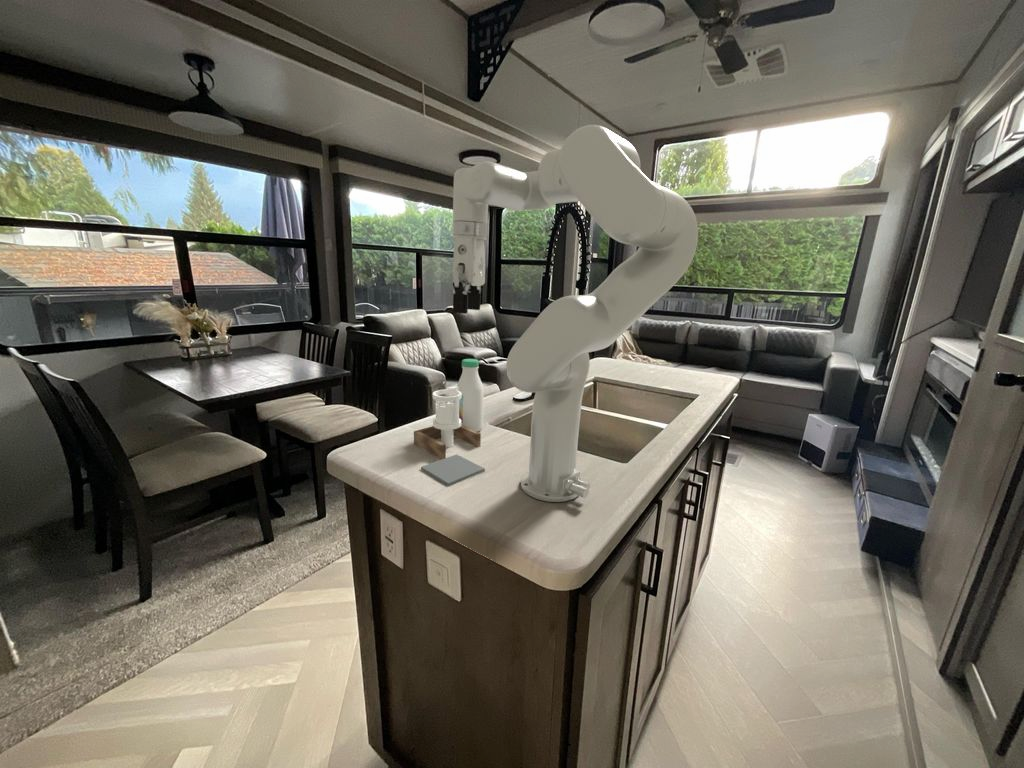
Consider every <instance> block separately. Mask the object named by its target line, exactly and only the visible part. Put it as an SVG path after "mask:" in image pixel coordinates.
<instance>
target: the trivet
mask: <svg viewBox="0 0 1024 768" xmlns="http://www.w3.org/2000/svg"><path fill="white" fill-rule="evenodd" d="M420 470H421V471H423V472H425V473H426V474H428V475H430V476H431V477H433V478H435V479H437V480H438V481H439V482H442V483H443V484H445V485H446V486H448V487H450V486H451V485H454V484H456V483H459V482H462V481H464V480H466V479H467V480H468V478H471V477H473V476H476V475H478V474H481V473H483V472H485V471H486V469H485V468H484V467H482V466H481V465H478V464H477V463H474V462H473V461H470V460H469V459H467V458H466V457H463V456H461V455H459V454H454V455H451V456H447V457H446V458H445V459H440V460H439V459H438V460H437V461H434V462H430V463H428V464H425V465H422V466H420Z"/></svg>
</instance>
